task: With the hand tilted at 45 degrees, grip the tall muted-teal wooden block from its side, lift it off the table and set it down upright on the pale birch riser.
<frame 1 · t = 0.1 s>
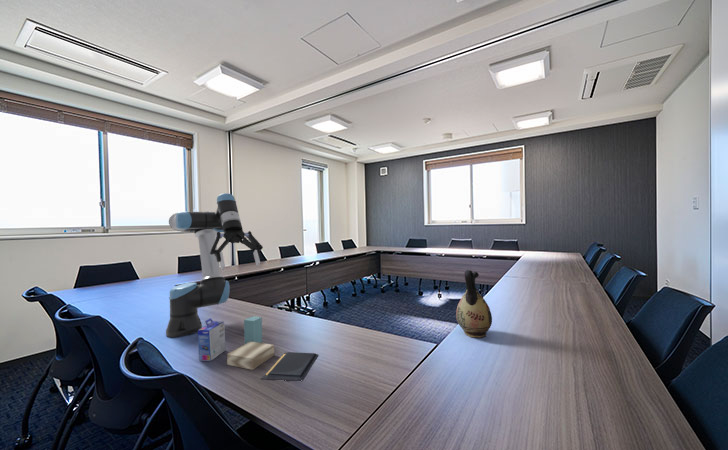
hand: (241, 266, 112), 36 cm above the table, tool tilted 35°, fingers open, 13 cm apart
teal block: (253, 346, 120), on the table
wallet: (292, 368, 103), on the table
ink cartridge box: (212, 355, 113), on the table
ceramic jug: (473, 335, 128), on the table
birch riser: (251, 359, 108), on the table
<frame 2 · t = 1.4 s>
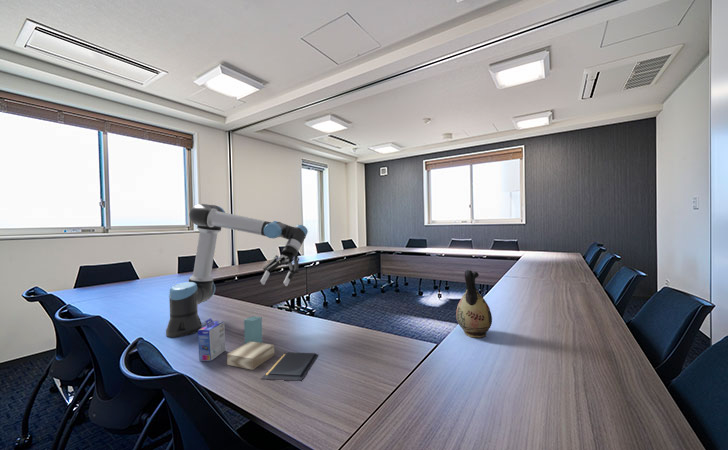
hand: (273, 283, 133), 24 cm above the table, tool tilted 45°, fingers open, 13 cm apart
nothing on the table moved.
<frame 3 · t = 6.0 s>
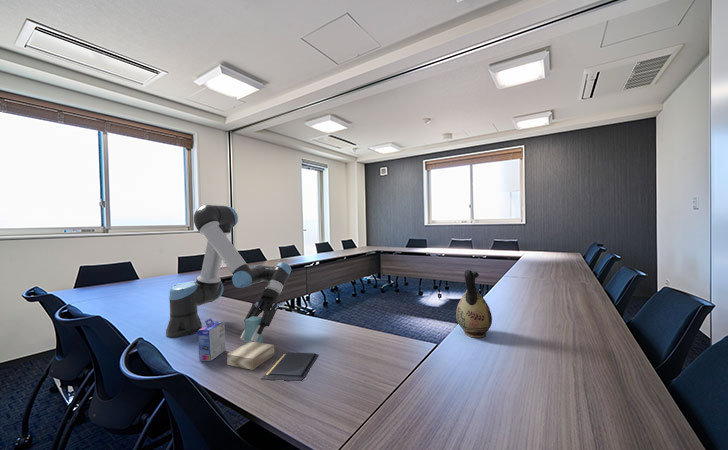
hand: (247, 340, 117), 4 cm above the table, tool tilted 45°, fingers closed on teal block, 5 cm apart
teal block: (254, 346, 120), on the table, touching gripper
everything else where it was.
when the fingers open (9 cm above the table, at t = 12.3 s): teal block drops 1 cm, resting on birch riser.
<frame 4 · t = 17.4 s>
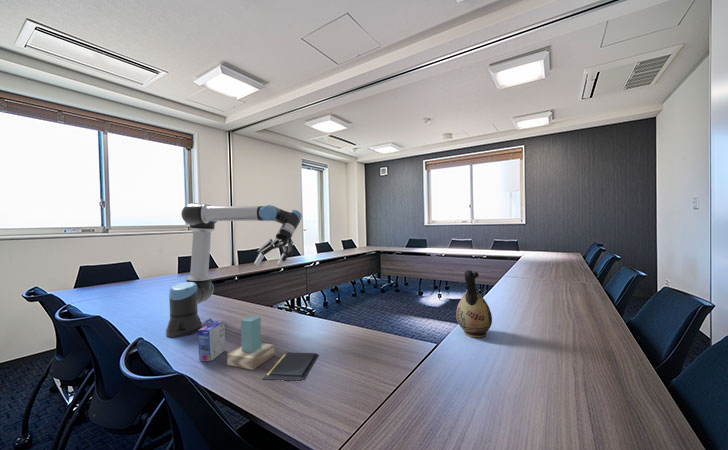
hand: (267, 265, 135), 33 cm above the table, tool tilted 45°, fingers open, 13 cm apart
teal block: (251, 349, 108), point 4 cm above the table, touching birch riser
everything else where it was.
at the end: teal block inside the target area on the birch riser (0.1 cm from its centre), point 4.0 cm above the birch riser's base; teal block tilted 0°; the gripper is holding nothing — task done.
